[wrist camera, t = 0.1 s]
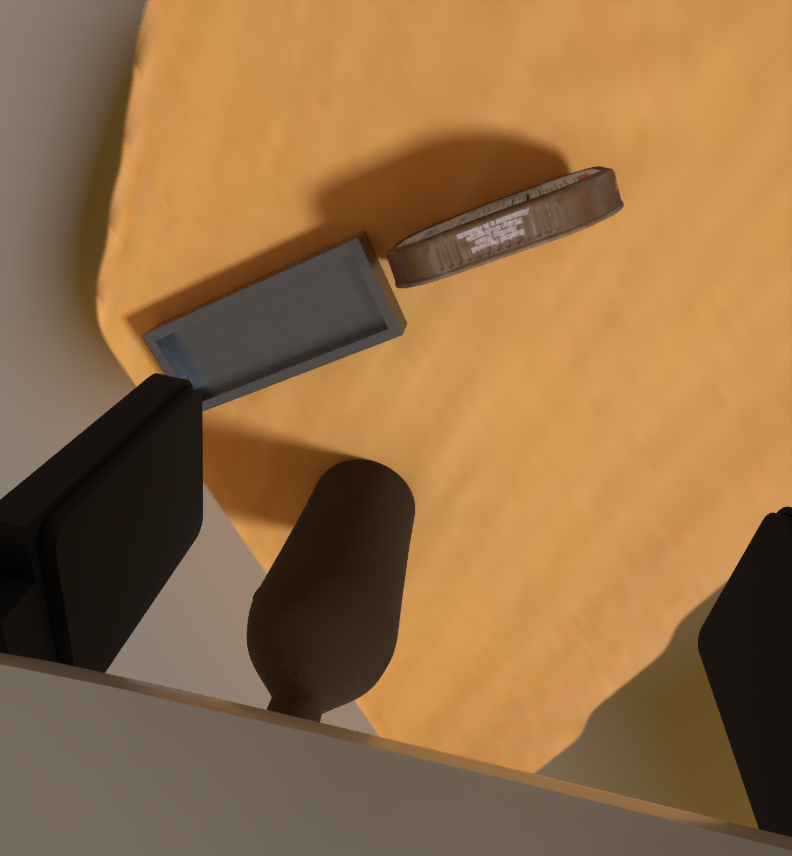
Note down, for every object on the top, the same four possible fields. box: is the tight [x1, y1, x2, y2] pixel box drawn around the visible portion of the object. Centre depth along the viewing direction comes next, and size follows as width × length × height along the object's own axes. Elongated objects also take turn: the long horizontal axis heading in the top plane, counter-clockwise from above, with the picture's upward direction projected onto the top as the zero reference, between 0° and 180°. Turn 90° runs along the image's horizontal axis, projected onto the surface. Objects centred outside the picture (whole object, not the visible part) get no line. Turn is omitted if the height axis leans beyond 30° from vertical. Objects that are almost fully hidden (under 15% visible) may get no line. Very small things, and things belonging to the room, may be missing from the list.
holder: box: [142, 231, 407, 412], centre depth 49 cm, size 8×20×2 cm, turn 115°
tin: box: [387, 167, 624, 288], centre depth 40 cm, size 15×3×8 cm, turn 112°
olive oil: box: [247, 460, 415, 722], centre depth 46 cm, size 11×11×25 cm
